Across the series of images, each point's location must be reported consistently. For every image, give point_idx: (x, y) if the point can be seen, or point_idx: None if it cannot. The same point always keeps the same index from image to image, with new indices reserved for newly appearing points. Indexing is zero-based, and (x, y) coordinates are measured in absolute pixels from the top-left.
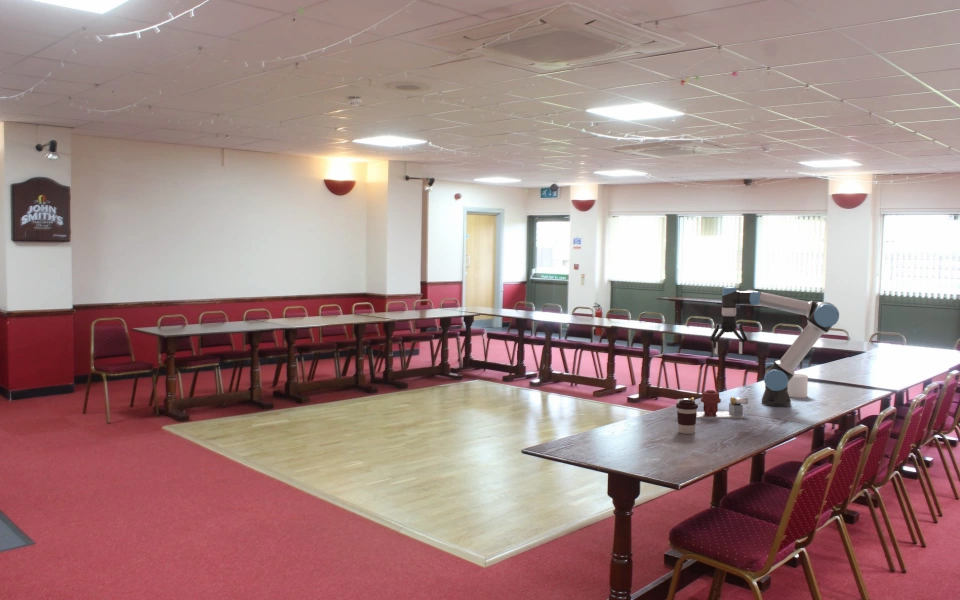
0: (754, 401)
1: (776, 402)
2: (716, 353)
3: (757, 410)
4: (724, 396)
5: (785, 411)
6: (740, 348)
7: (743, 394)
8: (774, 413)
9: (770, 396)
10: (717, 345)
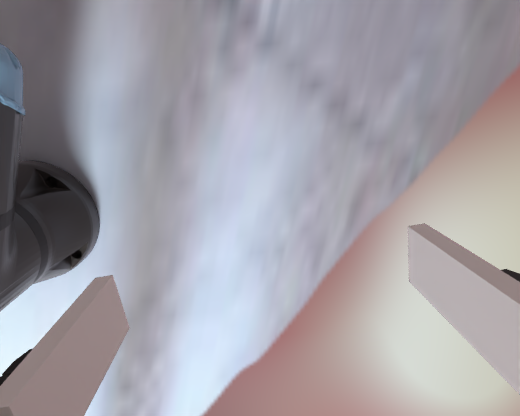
0: (124, 263)
1: (30, 165)
2: (427, 227)
3: (134, 75)
4: (228, 340)
5: None
6: (84, 330)
7: (150, 381)
8: (63, 9)
9: (43, 193)
10: (493, 281)
